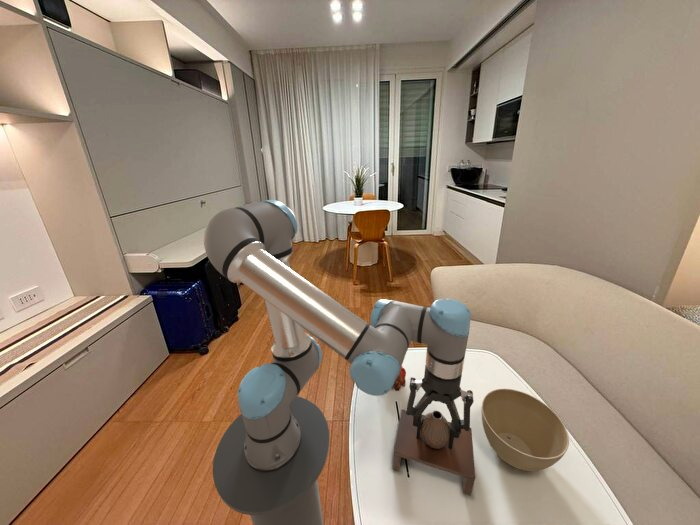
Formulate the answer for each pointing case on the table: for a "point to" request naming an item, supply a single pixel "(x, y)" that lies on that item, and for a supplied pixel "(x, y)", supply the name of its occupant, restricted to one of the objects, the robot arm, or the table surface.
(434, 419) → the vase
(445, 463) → the shelf
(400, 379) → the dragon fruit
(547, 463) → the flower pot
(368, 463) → the table surface
